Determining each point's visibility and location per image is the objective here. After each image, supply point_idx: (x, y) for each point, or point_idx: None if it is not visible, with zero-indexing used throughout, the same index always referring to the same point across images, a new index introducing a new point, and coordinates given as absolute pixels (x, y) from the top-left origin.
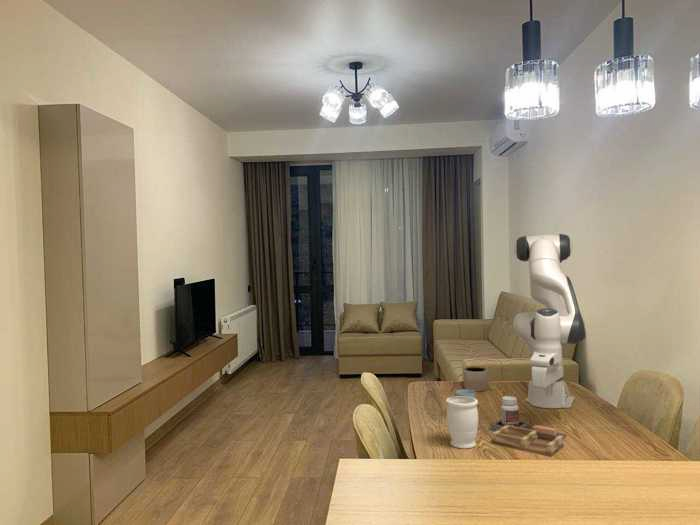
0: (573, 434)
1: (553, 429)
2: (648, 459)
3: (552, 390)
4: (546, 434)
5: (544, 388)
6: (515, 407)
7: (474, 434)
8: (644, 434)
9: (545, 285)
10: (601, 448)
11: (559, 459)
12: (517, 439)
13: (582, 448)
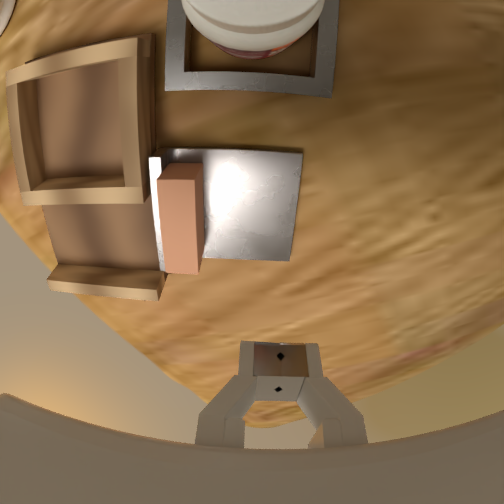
0: (322, 270)
1: (180, 267)
2: None
3: (295, 400)
4: (158, 235)
5: (211, 402)
6: (223, 37)
7: None
8: (387, 381)
9: None
10: (227, 350)
11: None
12: (19, 177)
13: (191, 318)
